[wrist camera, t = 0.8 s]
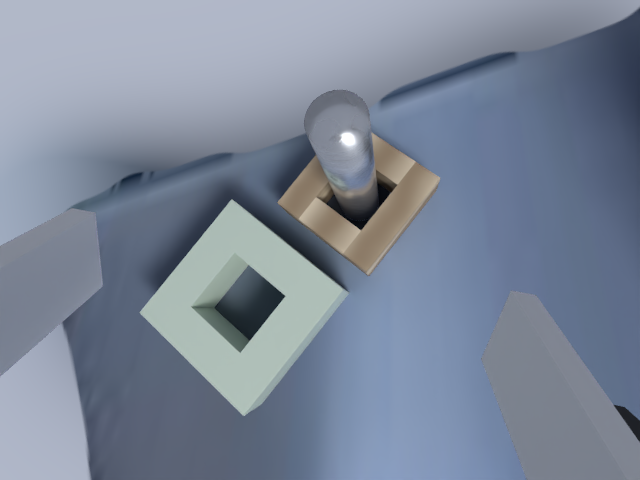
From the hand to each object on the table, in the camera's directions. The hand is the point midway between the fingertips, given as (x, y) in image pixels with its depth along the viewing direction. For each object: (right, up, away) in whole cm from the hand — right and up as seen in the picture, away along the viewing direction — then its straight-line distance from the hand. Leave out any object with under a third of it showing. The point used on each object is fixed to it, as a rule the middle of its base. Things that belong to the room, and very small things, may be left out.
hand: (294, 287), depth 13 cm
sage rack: (-6, -5, +29) cm, 30 cm away
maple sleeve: (+5, +5, +29) cm, 30 cm away
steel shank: (+5, +5, +29) cm, 30 cm away
